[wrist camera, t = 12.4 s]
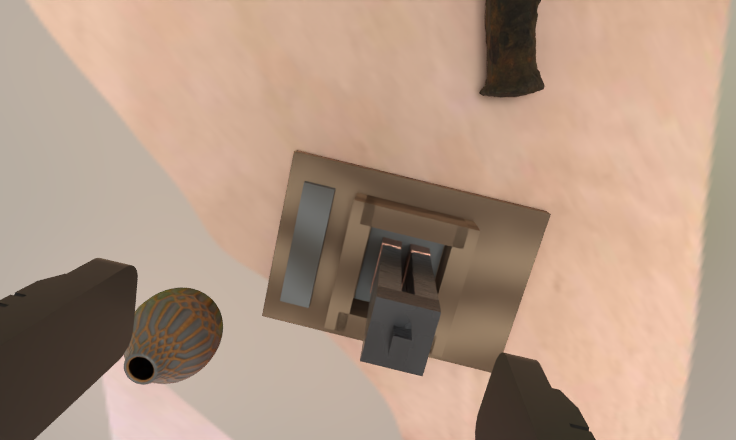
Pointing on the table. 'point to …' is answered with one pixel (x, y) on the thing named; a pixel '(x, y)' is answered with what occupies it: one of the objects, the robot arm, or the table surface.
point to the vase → (173, 336)
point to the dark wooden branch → (511, 48)
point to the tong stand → (411, 226)
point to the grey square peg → (401, 310)
